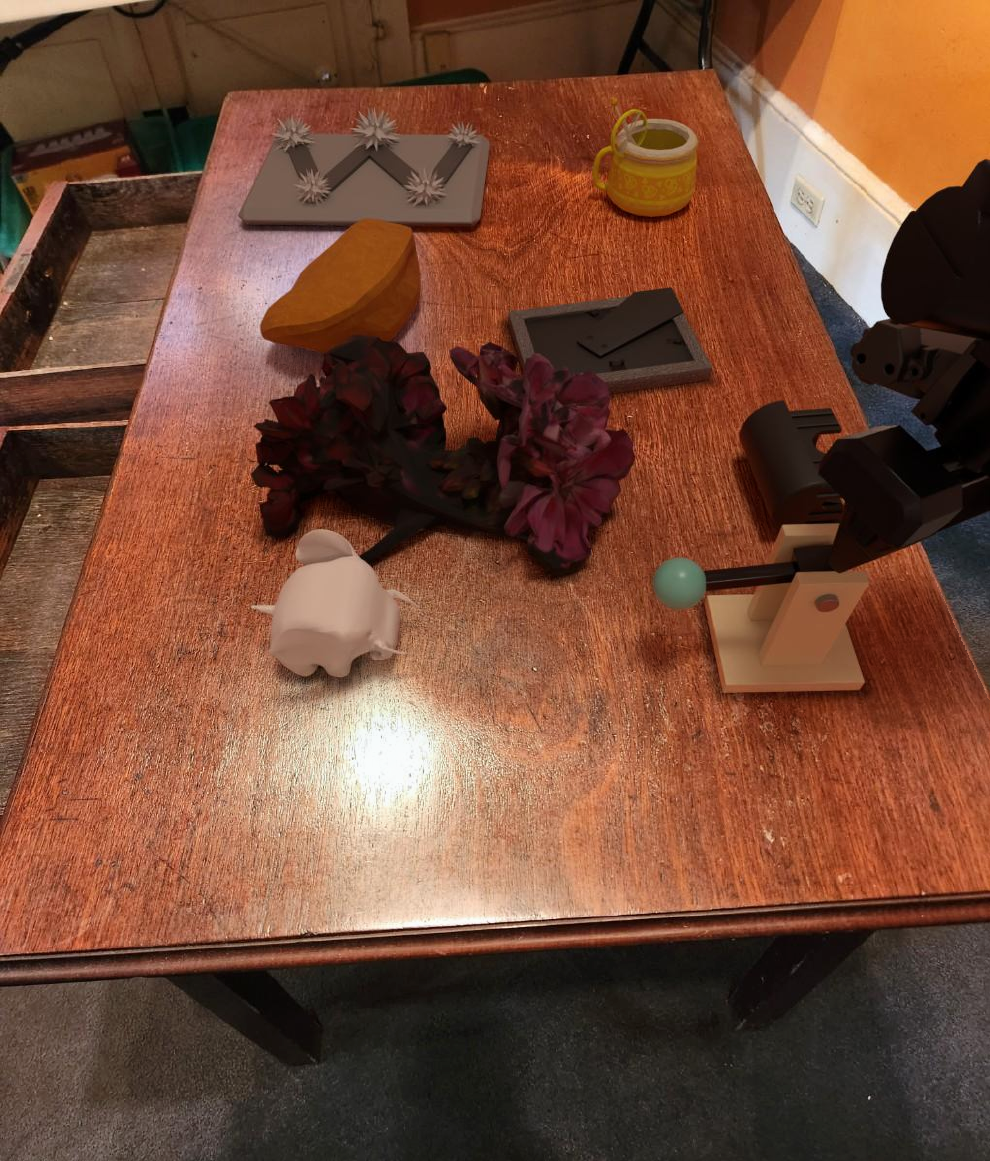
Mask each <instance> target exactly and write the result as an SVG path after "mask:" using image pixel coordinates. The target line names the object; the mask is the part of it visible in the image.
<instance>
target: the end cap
mask: <svg viewBox="0 0 990 1161" xmlns="http://www.w3.org/2000/svg"><path fill="white" fill-rule="evenodd" d="M842 431H843V428H842V427H841V424H840V422H839V421H838V419H837V416H836V414H835V413H834V411H833V408H831V407H823V408H811V409H797V410H789V408H788V406H787V404H786V401H785V400H783V399H781V400H776V401H772V402H769V403H766V404H764V405H762V406H761V407H759V408H757V409H755V411H753V412H752V413H750V415H748V416H747V418H745V420H744V422H743V423H742V425H741V427H740V429H739V442H740V444H741V447H742V450H743V452H744V454H745V457H746V460H747V462H748V465H749V468H750V470H751V472H752V475H753V477H754V479H755V480H754V481H755V483H756V485H757V489H758V490H759V493H760V496H761V498H762V500H763V503H764V505H765V508H766V510H767V513H768V516H769V519H770V520H771V521H770V522H771V523H772V525H773V526H774V527H775V528H776V530H779V531H780V529H781V527H782V525H795V524H838V523H840V520H841V517H842V512H843V507H844V502H843V501H842V498H841V497H840V496H839V494H838V493H837V492H836V491H835V490H834V489H833V488H832V487H831V486H830V485H829V484H828V483H827V482H826V481H825V480H824V479H823V478H822V477H821V476H820V474H819V473H818V464H819V462H820V461H821V460H822V458H823V457H824V456H825V454H826V453H825V452H822V451H821V450H819V449H818V448H817V442H818V441H819V438H820V436H822V435H834V434H836V435H837V434H841V432H842Z"/></svg>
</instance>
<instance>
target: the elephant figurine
mask: <svg viewBox="0 0 990 1161" xmlns="http://www.w3.org/2000/svg"><path fill="white" fill-rule="evenodd" d="M359 556H360V555H358V553H357V552H356V550H355V548H354V547H353V545H352V544H351V542H349V540H348V539H347V538H345V536H343V535H341V534H340V533H338V532H336V531H333V530H330V529H323V528H319V529H317V528H316V529H312V530H311V531H308V532H307V533H305V534H304V535H303V536H302V537H300V539H299V540H298V544H297V546H296V550H295V559H296V560H297V561H298V563H300V564H302V565H303V566H300V567H298V568H297V569H296V570H295V571H294V572H292V573H291V575H290V576H289V577H288V578H287V580H285V582H284V584H283V585H282V587H281V589H280V591H279V594H278V595H277V600H276V602H275V604H274V605H273V604H257V605H255V604H251V606H250V609H251V610H257V611H258V612H261V613H264V614H267V615H270V616H272V618H271V625H270V630H269V631H270V633H269V634H270V635H269V650H268V653H267V656H271V655H272V656H273V657H275V658H276V659H277V661H278V662H279V663H280V664H281V665H283V667H285V668H286V669H287V670H290V671H291V672H292V673H293V674H296V675H299V676H301V677H309V676H310V675H311V676H312V675H313V674H314V673H315V672H316V671H317V669H318V667H319V666H321V667H322V668H323V669H324V670H325V672H326V673H327V674H328V675H329V676H332V677H335V678H345V677H347V676H348V675H349V674H350V673H351V668H352V664H353V661H355V659H357V658H358V657H359V656H362V655H364V654H366V653H369V657H370V659H371V660H375V661H383V660H388V659H390V658H391V657H392V656H393V655H394V654H396V655H403V656H414V654H412V653H410V652H405V651H402V650H397V646H398V645H397V644H398V640H399V634H400V627H401V609H400V606H399V605H398V603H397V601H396V600H395V599H397V600H401V601H404V602H407V603H409V604H410V605H412V606H414V607H416V608H418V609H421V607H420V606H419V605H418V604H417V603H415V602H414V601H412V600H411V599H410V598H409V597H407V595H405V594H403V593H402V592H400V591H399V590H397V589H395V588H390V589H389V588H388V589H385V588H384V587H383V586H382V585H381V584H380V581H379V577H378V575H377V572H376V571H375V570H374V569H373V567H372V566H371V565H370V564H367V563H366V562H365V561H364V560H362V559H361V558H360V557H359Z"/></svg>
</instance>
